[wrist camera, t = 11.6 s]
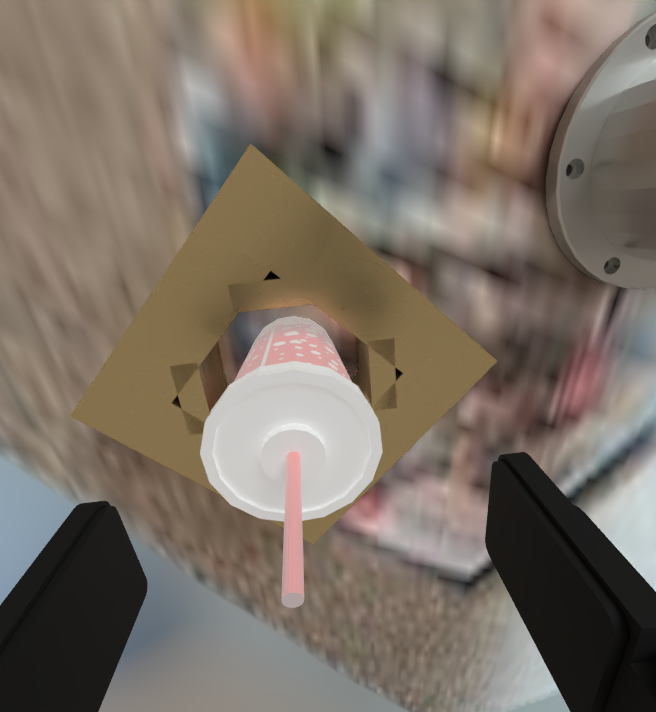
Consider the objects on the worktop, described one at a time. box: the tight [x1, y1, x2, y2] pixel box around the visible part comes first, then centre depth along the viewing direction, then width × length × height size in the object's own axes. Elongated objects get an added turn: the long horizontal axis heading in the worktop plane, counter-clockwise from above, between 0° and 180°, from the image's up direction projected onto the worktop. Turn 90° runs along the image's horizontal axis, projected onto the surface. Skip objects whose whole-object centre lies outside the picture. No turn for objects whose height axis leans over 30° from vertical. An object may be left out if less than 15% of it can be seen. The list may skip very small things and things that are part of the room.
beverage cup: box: [200, 316, 383, 608], centre depth 14 cm, size 6×6×14 cm
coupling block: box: [70, 144, 497, 544], centre depth 19 cm, size 14×14×4 cm
